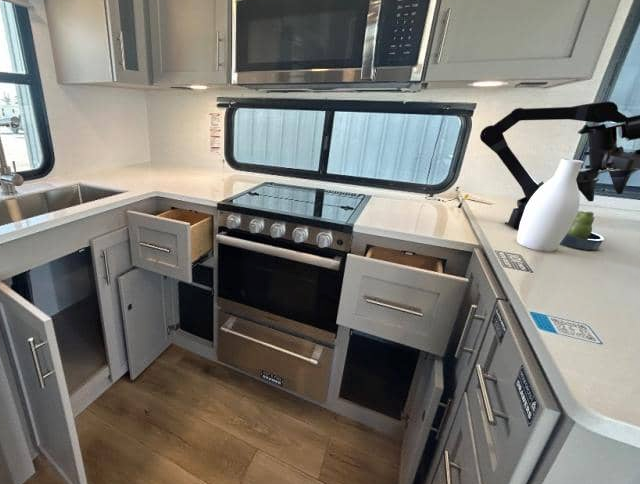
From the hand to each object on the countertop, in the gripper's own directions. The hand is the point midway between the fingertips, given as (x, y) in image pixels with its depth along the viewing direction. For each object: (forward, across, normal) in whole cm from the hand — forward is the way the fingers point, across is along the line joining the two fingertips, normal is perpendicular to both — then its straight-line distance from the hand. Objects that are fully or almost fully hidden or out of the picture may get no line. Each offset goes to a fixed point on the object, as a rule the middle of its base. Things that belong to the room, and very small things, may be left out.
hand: (605, 197), depth 99 cm
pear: (+12, -10, +1) cm, 16 cm away
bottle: (+9, -24, -1) cm, 26 cm away
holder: (+12, -10, +1) cm, 16 cm away
